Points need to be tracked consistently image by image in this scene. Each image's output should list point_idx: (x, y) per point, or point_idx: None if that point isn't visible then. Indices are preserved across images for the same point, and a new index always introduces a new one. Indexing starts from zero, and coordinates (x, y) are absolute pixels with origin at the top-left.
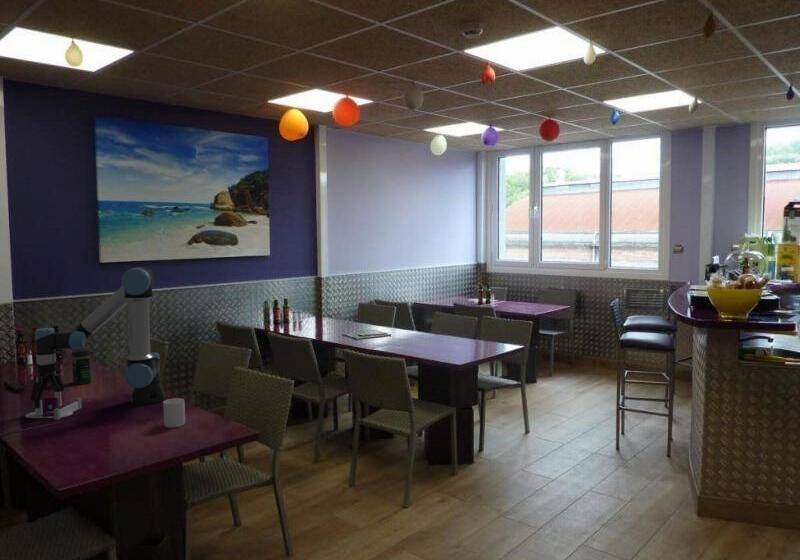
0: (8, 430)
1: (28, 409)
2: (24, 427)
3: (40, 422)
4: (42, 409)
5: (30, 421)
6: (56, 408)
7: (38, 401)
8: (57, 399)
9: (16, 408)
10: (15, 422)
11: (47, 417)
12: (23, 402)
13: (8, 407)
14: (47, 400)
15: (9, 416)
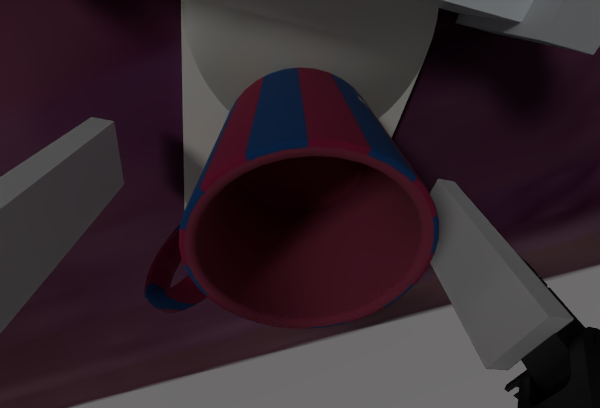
0: (590, 262)
1: (139, 322)
2: (590, 203)
3: (516, 141)
4: (464, 212)
5: None
6: (549, 31)
7: (570, 325)
8: (320, 138)
9: (129, 365)
10: (418, 287)
11: (390, 136)
12: (14, 377)
13: (118, 389)
14: (234, 275)
15: (279, 343)
